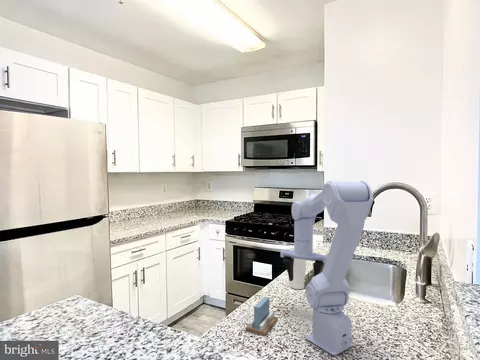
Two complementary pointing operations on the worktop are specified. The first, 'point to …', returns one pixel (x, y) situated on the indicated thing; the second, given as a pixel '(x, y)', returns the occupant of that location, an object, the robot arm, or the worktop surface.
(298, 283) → the drinking glass
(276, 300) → the worktop surface
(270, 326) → the bottom track
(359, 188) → the robot arm
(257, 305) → the door panel
